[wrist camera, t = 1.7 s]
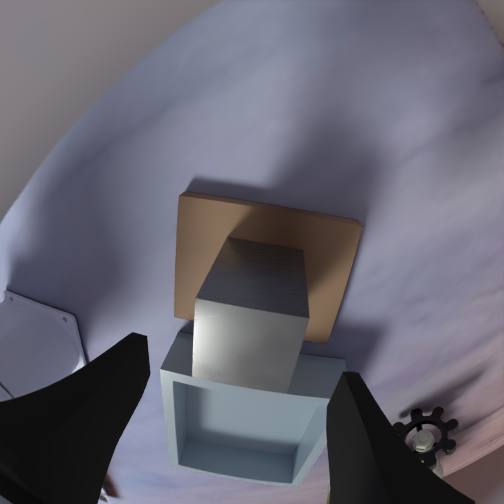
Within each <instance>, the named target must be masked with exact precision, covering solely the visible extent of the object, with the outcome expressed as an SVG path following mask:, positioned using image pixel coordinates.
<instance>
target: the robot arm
mask: <svg viewBox="0 0 504 504" xmlns="http://www.w3.org/2000/svg"><path fill="white" fill-rule="evenodd" d="M2 295H3V299H4V301H3V302H1V303H0V504H98V500H99V496H100V493H101V489H102V485H103V482H104V479H105V476H106V473H107V470H108V467H109V464H110V461H111V459H112V456H113V453H114V450H115V448H116V445H117V443H118V441H119V439H120V437H121V435H122V433H123V431H124V429H125V428H126V426H127V424H128V422H129V420H130V418H131V416H132V414H133V413H134V411H135V409H136V407H137V405H138V403H139V401H140V399H141V397H142V395H143V393H144V390H145V388H146V385H147V382H148V379H149V377H150V364H149V353H148V341H147V336H145V335H141V334H137V333H134V332H132V333H130V334H129V335H128V336H126V337H125V338H123V339H122V340H121V341H119V342H118V343H116V344H115V345H114V346H112V347H111V348H110V349H108V350H107V351H105V352H104V353H103V354H101V355H100V356H98V357H97V358H95V359H94V360H92V361H91V362H90V363H88V364H86V360H85V357H84V353H83V348H82V344H81V340H80V336H79V331H78V326H77V322H76V318H75V317H74V316H73V315H72V314H69V313H66V312H63V311H60V310H57V309H54V308H52V307H49V306H46V305H43V304H41V303H38V302H35V301H32V300H30V299H27V298H25V297H22V296H19V295H17V294H14V293H12V292H9V291H7V290H5V291H3V292H2ZM326 436H327V448H328V459H329V471H330V500H329V504H475V501H474V500H472V499H470V498H468V497H467V496H465V495H463V494H462V493H461V492H459V491H457V490H456V489H454V488H453V487H452V486H450V485H449V484H447V483H446V482H445V481H444V480H442V479H441V478H440V477H439V476H437V475H436V474H435V473H434V472H433V471H432V470H431V469H430V468H428V467H427V466H426V465H425V464H424V463H423V462H422V461H421V460H420V459H419V458H418V457H417V456H416V455H415V454H414V452H413V451H412V450H411V449H410V448H409V447H408V446H407V445H406V443H405V442H404V441H403V440H402V438H401V437H400V436H399V435H398V433H397V432H396V431H395V429H394V428H393V427H392V425H391V424H390V422H389V421H388V419H387V418H386V416H385V415H384V413H383V412H382V410H381V409H380V407H379V406H378V404H377V402H376V401H375V399H374V397H373V396H372V394H371V393H370V391H369V389H368V388H367V386H366V384H365V383H364V381H363V379H362V378H361V376H360V374H359V373H356V372H345V371H343V372H342V375H341V377H340V379H339V381H338V383H337V386H336V388H335V390H334V392H333V394H332V396H331V398H330V401H329V403H328V405H327V414H326Z"/></svg>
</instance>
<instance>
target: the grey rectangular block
mask: <svg viewBox="0 0 504 504" xmlns="http://www.w3.org/2000/svg"><path fill="white" fill-rule="evenodd" d="M309 319H310V315H309V303H308V291H307V280H306V269H305V259H304V250H303V249H297V248H291V247H285V246H279V245H274V244H268V243H262V242H256V241H250V240H244V239H238V238H232V237H227V238H226V240H225V242H224V244H223V246H222V248H221V250H220V251H219V253H218V255H217V257H216V259H215V261H214V263H213V265H212V267H211V269H210V271H209V273H208V274H207V276H206V278H205V280H204V282H203V284H202V286H201V288H200V290H199V292H198V294H197V296H196V298H195V313H194V335H193V364H192V377H196V378H200V379H205V380H210V381H215V382H219V383H224V384H230V385H235V386H240V387H246V388H252V389H258V390H264V391H271V392H278V393H285V394H286V393H287V390H288V387H289V384H290V381H291V378H292V375H293V372H294V369H295V366H296V362H297V359H298V356H299V353H300V350H301V346H302V343H303V340H304V336H305V333H306V329H307V326H308V323H309Z"/></svg>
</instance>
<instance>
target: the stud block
mask: <svg viewBox="0 0 504 504" xmlns="http://www.w3.org/2000/svg"><path fill="white" fill-rule="evenodd" d="M362 227H363V226H362V225H361V223H360V222H359V221H356V220H351V219H346V218H341V217H336V216H331V215H326V214H320V213H315V212H310V211H304V210H299V209H293V208H287V207H281V206H276V205H270V204H264V203H258V202H251V201H245V200H239V199H232V198H226V197H219V196H212V195H205V194H198V193H191V192H183V193H182V194H181V195H179V204H178V219H177V238H176V261H175V301H174V317H177V318H182V319H186V320H191V321H194V313H195V298H196V296H197V294H198V292H199V290H200V288H201V286H202V284H203V282H204V280H205V278H206V276H207V274H208V273H209V271H210V269H211V267H212V265H213V263H214V261H215V259H216V257H217V255H218V253H219V251H220V250H221V248H222V246H223V244H224V242H225V240H226V238H227V237H232V238H238V239H244V240H250V241H256V242H262V243H268V244H274V245H279V246H285V247H291V248H297V249H303V250H304V259H305V269H306V280H307V291H308V303H309V315H310V319H309V323H308V326H307V329H306V333H305V336H304V340H303V341H310V342H317V343H325V344H327V342H328V339H329V336H330V334H331V331H332V328H333V325H334V322H335V319H336V316H337V313H338V310H339V307H340V303H341V300H342V297H343V294H344V291H345V287H346V284H347V281H348V277H349V274H350V271H351V267H352V264H353V260H354V257H355V253H356V250H357V246H358V242H359V238H360V235H361V231H362Z"/></svg>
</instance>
